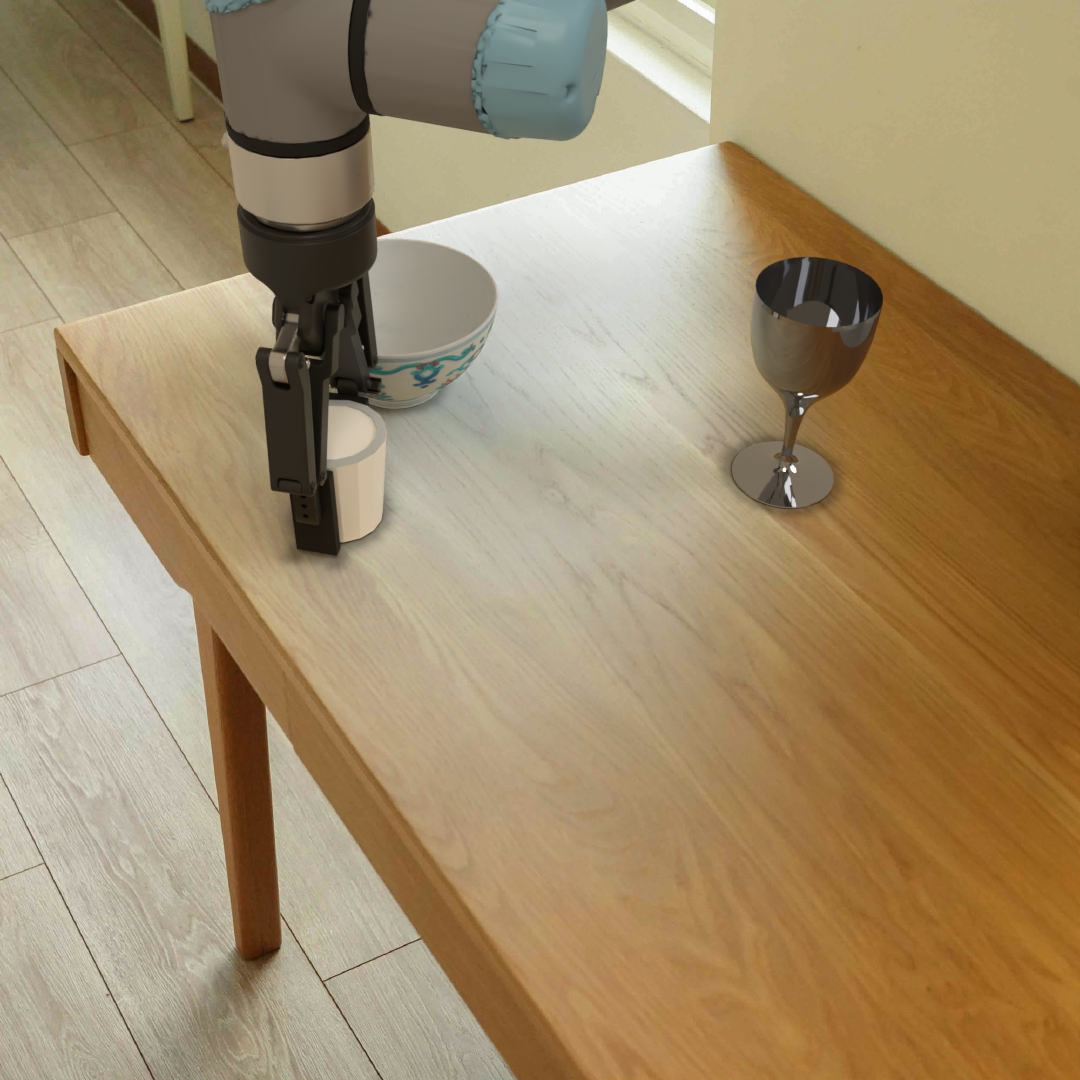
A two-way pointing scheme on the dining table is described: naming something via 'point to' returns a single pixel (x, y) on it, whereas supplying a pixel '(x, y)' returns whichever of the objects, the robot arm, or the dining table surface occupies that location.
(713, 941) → the dining table surface
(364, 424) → the shot glass
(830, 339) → the wine glass
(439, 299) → the chinaware
